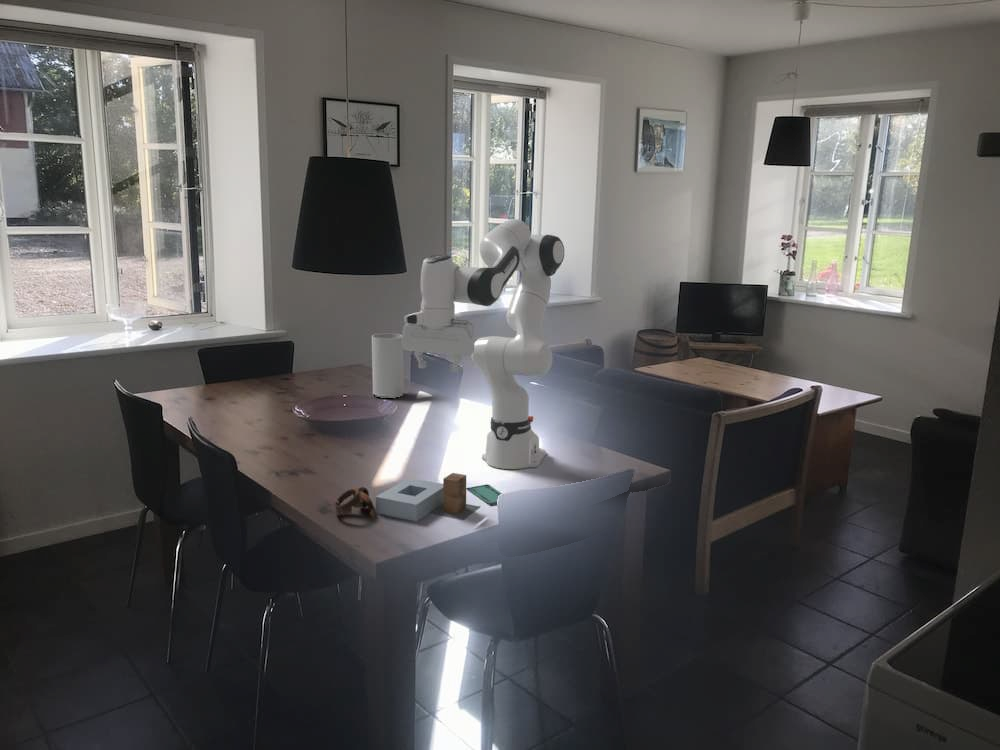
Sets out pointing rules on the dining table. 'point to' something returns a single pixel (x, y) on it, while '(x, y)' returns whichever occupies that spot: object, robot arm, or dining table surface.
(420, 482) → the pocket holder
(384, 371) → the cylinder vase
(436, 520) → the dining table surface
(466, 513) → the rubber mat
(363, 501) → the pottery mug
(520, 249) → the robot arm
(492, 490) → the smartphone
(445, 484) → the walnut block
